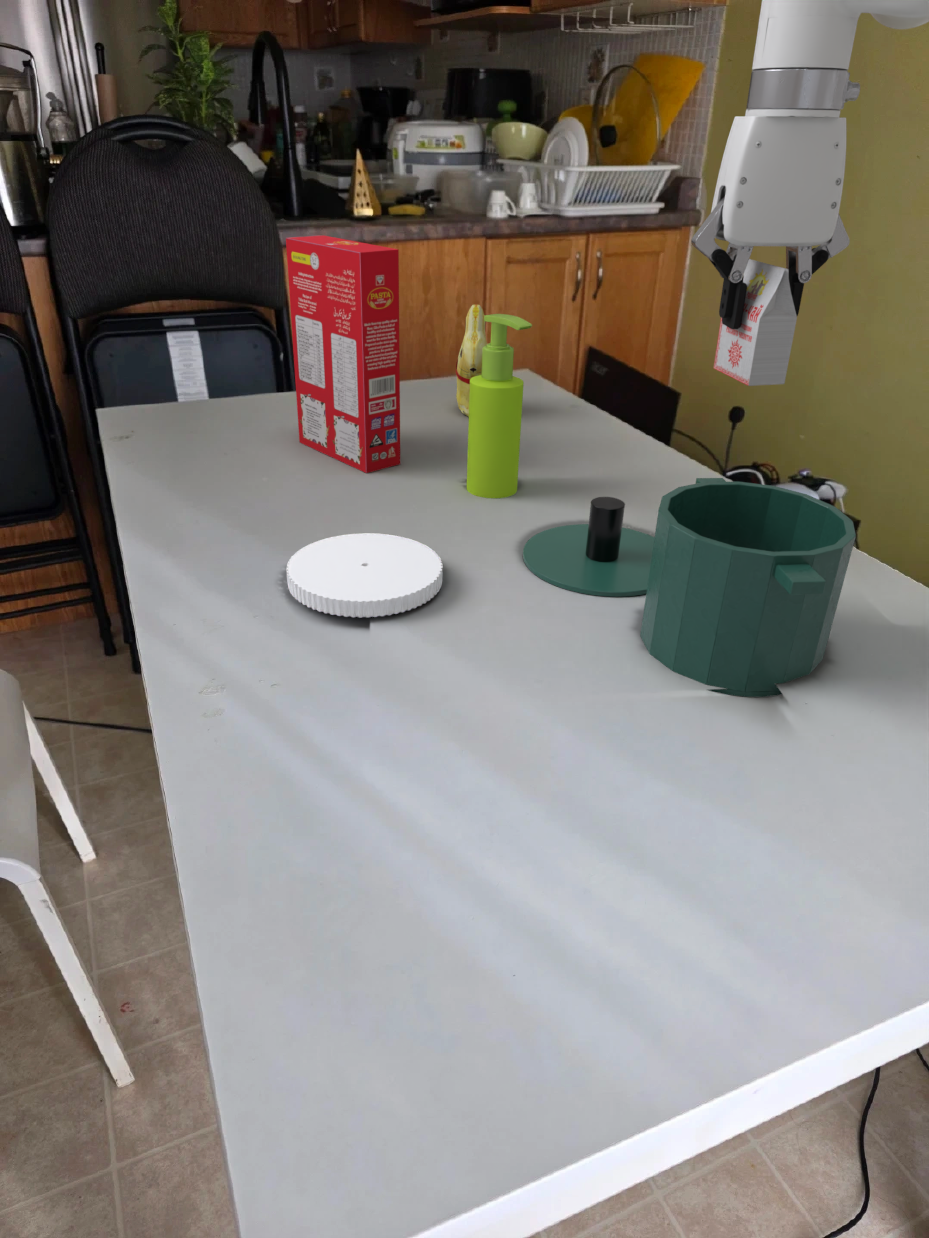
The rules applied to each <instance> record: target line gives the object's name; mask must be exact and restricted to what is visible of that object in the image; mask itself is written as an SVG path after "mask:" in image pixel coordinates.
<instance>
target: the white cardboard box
mask: <svg viewBox="0 0 929 1238" xmlns="http://www.w3.org/2000/svg"><path fill="white" fill-rule="evenodd" d="M743 282H744V283H746V284H747V292H746V298H745V304H744V310H743V317H742V323H741V327H740V328H738V329H731V328H729V327H727V326H725V325H724V324H722V318H721V317H720V322H719V329H718V335H717V343H716V348H715V355H714V363H713V369H714V370H715V371H718V372H720V373H722V374H724V375H726V376H728V377H730V378H732V379H734V380H736V381H738V382H739V383H742V384H744V385H745V386H747V387H753V386H771V385H785V383H786V379H787V372H788V367H789V361H790V356H791V351H792V346H793V341H794V336H795V331H796V325H797V321H798V320H797V319H798V316H797V315H796V311H795V307H794V303H793V299H792V295H791V290H790V284H789V271H788V269H786V267H781V266H777V265H775V264H770V263H766V262H762V261H758V260H755V259H751V258H749V261H748V264H747V267H746V269H745V272H744V278H743Z"/></svg>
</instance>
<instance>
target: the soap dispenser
mask: <svg viewBox="0 0 929 1238" xmlns="http://www.w3.org/2000/svg"><path fill="white" fill-rule="evenodd" d="M484 321H485V323H486V322H487V323H490V324H491V325H490V326H491V327H490V342H489V343H488V342H487V345H486V346H484V347H483V350H482V375H478V376H475V377H472V378H471V379H470V392H469V417H468V424H467V425H468V427H467V428H468V429H467V430H468V431H467V456H466V457H467V458H466V459H467V460H466V462H467V463H466V491H467V492H468V493H469V494H471V495H473V496H475V497H479V498H483V499H505V498H510V497H512V496H513V495H516V493H517V492H518V481H519V480H518V479H519V468H520V467H519V466H520V465H519V464H520V448H521V434H522V433H521V432H522V416H523V401H524V386H525V385H524V384H525V383H524V380H523V379H522V378H520V377H518V376H514V375H513V374H514V355H515V354H514V353H515V349H514V347H513V346H511V345H510V344H509V343H507V340H508V339H507V338H508V327H510V328H512V329H514V330H516V331H522V330H528V329H531V328H532V327H533V324H532V323H530V322H529V321H527V320H526V319H524V318H522V317H519V316H517V315H512V314H506V313H493V314H486V315H485V314H484Z"/></svg>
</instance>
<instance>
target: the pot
mask: <svg viewBox="0 0 929 1238" xmlns="http://www.w3.org/2000/svg"><path fill="white" fill-rule="evenodd" d="M659 503H660V504H659V507H658V512H657V517H656V518H657V519H656V524H655V530H654V537H655V538H654V545H653V552H652V558H651V565H650V572H649V579H648V586H647V592H646V594H645V600H644V607H643V614H642V620H641V628H640V634H639V636H640V639H641V641H642V642H643V644H644V646H645V648H646V650H647V652H648V654H649V655H651V656H652V657H653V658H654V659H656V660H657V661H658V662H659V663H661V664H662V665H663V666H665V667H666V668H668V669H669V670H670V671H671V672H673V673H675V674H678V675H680V676H683V677H686V678H688V679H691V680H693V681H696V682H698V683H700V684H703V685H706V686H709V687H710V686H711V687H716V688H711V689H705V690H706V691H709V692H714V693H717V694H722V695H728V696H736V697H747V698H765V697H775V696H780V695H783V692H782V691H781V690H780V688H779V687H778V686H777V684H784V683H788V682H791V681H795V680H796V679H800V678H802V677H805V676H808V675H810V674H811V673H812V672H813V671H814V670H815V669H816V668H817V667H818V666H819V665H820V663H821V662H822V661H823V659H824V656H825V652H826V649H827V645H828V642H829V637H830V633H831V630H832V627H833V622H834V619H835V616H836V612H837V607H838V604H839V600H840V598H841V594H842V590H843V585H844V581H845V578H846V574H847V570H848V567H849V565H850V564H849V563H850V560H851V556H852V553H853V549H854V544H855V541H856V537H857V535H856V530H855V525H854V520H852V519H851V518H850V517H848V516H847V515H846V514H845V513H843V512H842V511H841V510H840V509H839V508H837V507H836V506H835V505H833V504H830V503H828V502H826V501H823V500H820V499H818V498H816V497H813V496H811V495H810V494H808V493H803V492H799V491H796V490H792V489H788V488H784V487H780V486H776V485H771V484H770V485H769V484H761V483H753V482H745V481H727V480H726V479H725V478H724V477H696V479H695V483H693V484H686V485H681V486H678V487H676V488H674V489H673V490H671V491H670V492H668V493H666V494H664V495H662V497H661V500H660V502H659Z"/></svg>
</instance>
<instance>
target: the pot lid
mask: <svg viewBox="0 0 929 1238" xmlns="http://www.w3.org/2000/svg"><path fill="white" fill-rule="evenodd" d="M625 507H626V504H625V502H624V501H623V500H621V499H619V498H617V497H612V496H597V497H595V498H592V500H591V501H590V507H589V516H588V523H579V524H575V523H574V524H566V525H560V526H556V527H551V528H548V529H545V530H542V531H540V532H538V533H536V534H534V535H533V536H531V537H530V538H528V540H527V541H526V543H525V544H524V546H523V551H522V558H523V559H522V560H523V562H524V564H525V566H526V567H527V569H528V570H529V571H530V572H531V573H532V574H534V575H535V576H536V577H538V578H539V579H541V580H542V581H545V582H546V583H548V584H550V585H553V586H555V587H558V588H560V589H562V590H563V589H564V590H566V591H570V592H574V593H579V594H584V595H588V596H589V595H590V596H596V597H597V596H598V597H610V598H611V597H613V598H619V597H620V598H621V597H635V596H643V595H646V592H647V586H648V579H649V572H650V565H651V558H652V552H653V545H654V538H655V536H652V535H651V534H648V533H645V532H642V531H640V530H636V529H631V528H627V527H623V525H624V516H625Z"/></svg>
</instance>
